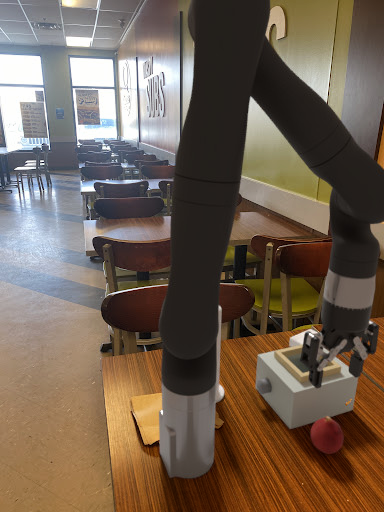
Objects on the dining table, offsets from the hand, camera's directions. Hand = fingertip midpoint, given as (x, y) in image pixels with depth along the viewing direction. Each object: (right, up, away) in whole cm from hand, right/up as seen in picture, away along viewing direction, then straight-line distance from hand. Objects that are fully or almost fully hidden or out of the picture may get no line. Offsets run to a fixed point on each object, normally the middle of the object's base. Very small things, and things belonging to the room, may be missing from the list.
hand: (335, 379), depth 70 cm
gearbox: (0, -10, +19) cm, 22 cm away
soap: (+7, -3, +40) cm, 41 cm away
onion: (0, -15, +5) cm, 16 cm away
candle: (-21, -10, +21) cm, 31 cm away
